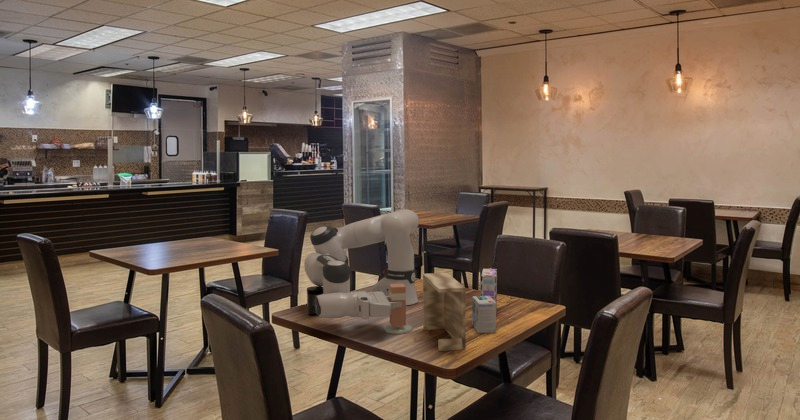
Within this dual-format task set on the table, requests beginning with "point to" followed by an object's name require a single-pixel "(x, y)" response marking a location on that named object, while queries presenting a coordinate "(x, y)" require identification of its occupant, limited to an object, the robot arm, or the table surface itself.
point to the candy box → (489, 283)
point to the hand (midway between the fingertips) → (400, 301)
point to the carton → (398, 314)
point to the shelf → (445, 309)
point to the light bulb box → (484, 314)
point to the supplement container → (313, 298)
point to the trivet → (397, 329)
